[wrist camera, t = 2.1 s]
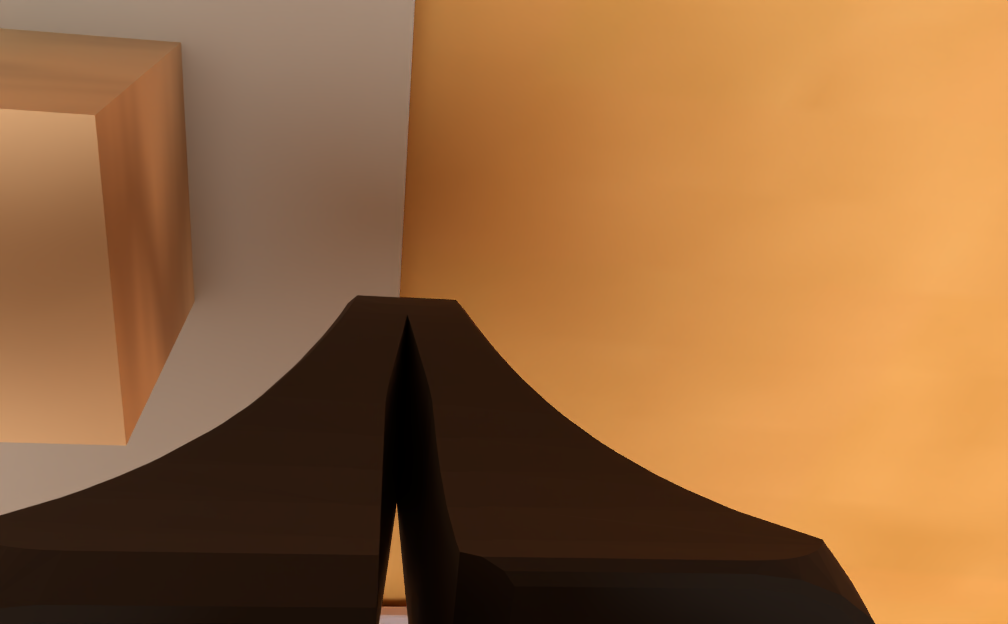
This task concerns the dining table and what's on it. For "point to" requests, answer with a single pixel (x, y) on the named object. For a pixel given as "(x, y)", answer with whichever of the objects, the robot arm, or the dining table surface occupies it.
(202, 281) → the trap board
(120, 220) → the block
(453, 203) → the dining table surface
